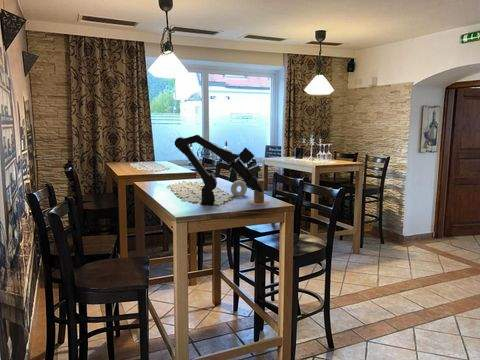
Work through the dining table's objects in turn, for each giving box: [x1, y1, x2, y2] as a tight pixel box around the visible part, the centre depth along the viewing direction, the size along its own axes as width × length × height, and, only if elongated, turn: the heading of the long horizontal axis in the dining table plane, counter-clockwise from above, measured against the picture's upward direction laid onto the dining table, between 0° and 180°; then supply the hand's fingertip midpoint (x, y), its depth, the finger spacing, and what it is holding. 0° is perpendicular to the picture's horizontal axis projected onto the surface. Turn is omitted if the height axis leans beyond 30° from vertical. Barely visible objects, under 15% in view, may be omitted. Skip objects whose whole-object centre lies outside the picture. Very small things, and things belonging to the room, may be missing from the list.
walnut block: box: [253, 178, 265, 203], centre depth 203 cm, size 5×5×12 cm
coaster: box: [247, 199, 271, 206], centre depth 204 cm, size 12×12×1 cm
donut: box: [230, 179, 248, 197], centre depth 221 cm, size 10×4×10 cm, turn 115°
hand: (261, 190), depth 203 cm, fingers closed on walnut block, 5 cm apart
